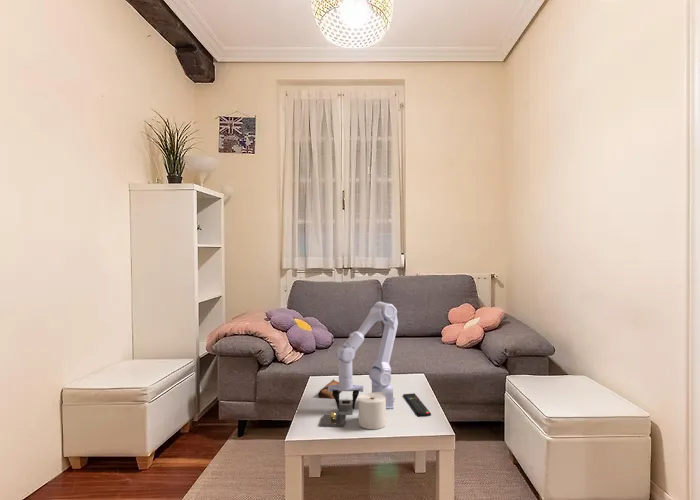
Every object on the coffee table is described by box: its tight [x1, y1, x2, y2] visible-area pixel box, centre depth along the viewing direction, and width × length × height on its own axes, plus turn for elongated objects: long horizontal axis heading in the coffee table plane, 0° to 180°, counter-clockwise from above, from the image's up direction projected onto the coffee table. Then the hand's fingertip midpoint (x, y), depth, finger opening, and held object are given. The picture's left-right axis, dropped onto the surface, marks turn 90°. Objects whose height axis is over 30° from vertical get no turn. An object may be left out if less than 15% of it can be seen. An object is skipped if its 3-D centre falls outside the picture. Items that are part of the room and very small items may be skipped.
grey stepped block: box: [338, 399, 354, 416], centre depth 175 cm, size 6×6×4 cm
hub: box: [319, 411, 347, 428], centre depth 166 cm, size 9×9×4 cm
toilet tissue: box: [357, 392, 387, 430], centre depth 164 cm, size 11×12×10 cm
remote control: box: [402, 393, 432, 418], centre depth 181 cm, size 5×24×1 cm, turn 8°
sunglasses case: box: [317, 379, 343, 400], centre depth 200 cm, size 18×7×7 cm
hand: (346, 408), depth 175 cm, fingers closed on grey stepped block, 6 cm apart
